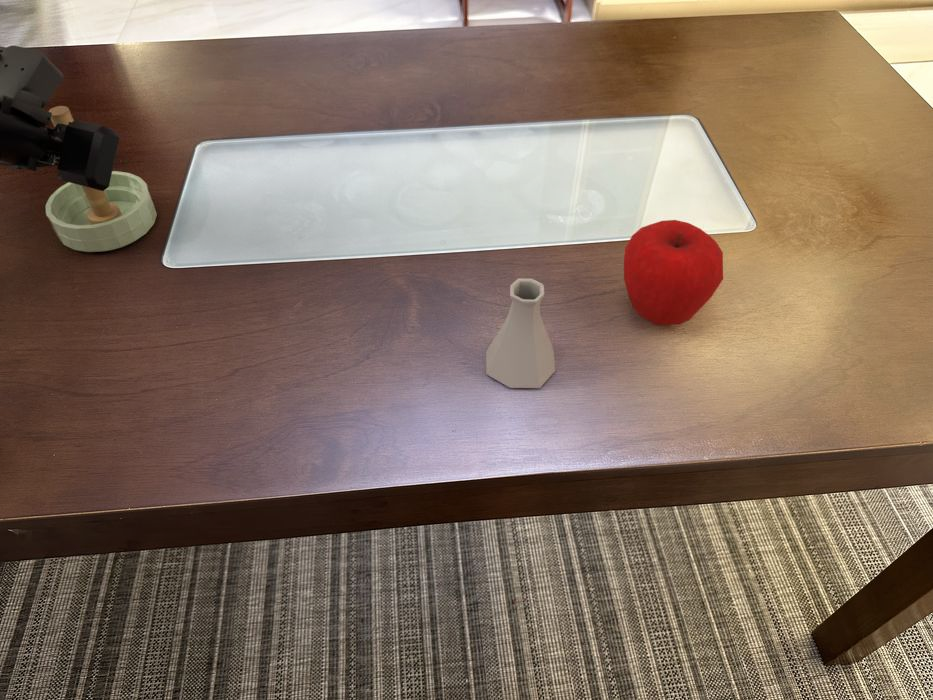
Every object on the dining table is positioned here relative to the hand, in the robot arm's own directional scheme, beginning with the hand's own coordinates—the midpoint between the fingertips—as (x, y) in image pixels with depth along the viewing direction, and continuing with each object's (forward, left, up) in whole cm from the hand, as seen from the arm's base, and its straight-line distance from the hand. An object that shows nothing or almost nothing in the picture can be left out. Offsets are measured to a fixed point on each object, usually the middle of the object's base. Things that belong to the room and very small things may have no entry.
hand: (92, 161), depth 82 cm
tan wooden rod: (-1, -1, -7) cm, 8 cm away
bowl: (-1, -1, -8) cm, 8 cm away
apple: (+61, -22, -8) cm, 66 cm away
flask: (+45, -28, -8) cm, 54 cm away
